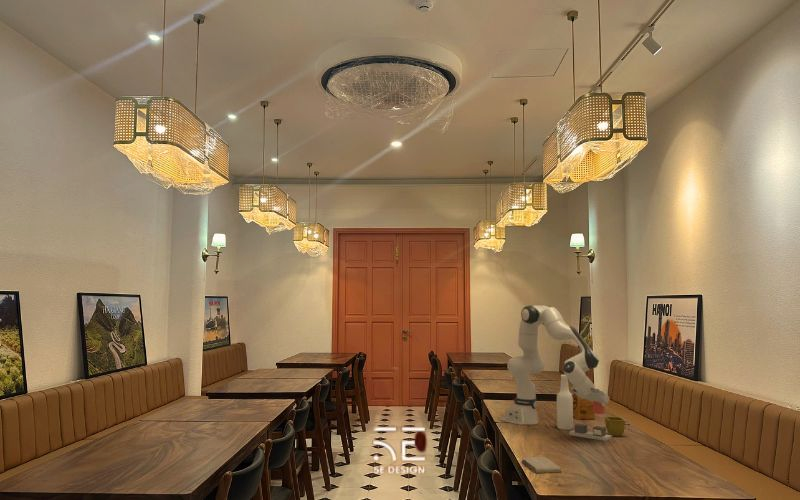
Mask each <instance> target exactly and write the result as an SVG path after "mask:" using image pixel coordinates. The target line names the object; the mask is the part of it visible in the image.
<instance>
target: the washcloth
mask: <svg viewBox="0 0 800 500" xmlns="http://www.w3.org/2000/svg"><path fill="white" fill-rule="evenodd" d="M521 462H522V464H523V465H524V466H526V468H528V469H529V468H530V469H529V470H531V471H532V470H533V471H534V472H533V471H532V472H533V473H534V474H545V473H544V472H557V473H562V468H561V467H560V466H559V465H557V464H556V463H555V462H553V461H552V460H550V459H549V458H548V457H546V456H537V457H535V456H526V457H525V456H523V457H522V459H521Z"/></svg>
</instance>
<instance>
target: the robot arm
mask: <svg viewBox="0 0 800 500" xmlns="http://www.w3.org/2000/svg"><path fill="white" fill-rule="evenodd" d="M520 313H521V314H520V315H521V320H520V323H519V328H518V329H519V330H518V343H517V345H518V347H519V348H520V349H521V350H522V352H523V355H521V356H520V355H519V356H518V355H517V356H513V357H511V358H509V360H508V362H507V366H506V367H507V370H508V372H509V373H510V374H511V375H512V376H513V378H514V381H515V384H516V397H514V398H513V399H512V402H514V403H513V404H511V405H510V406H508V407H507V408H506V409H505V411H504V416H502V417H501V418H500V421H501V422H507V423H510V424H515V425H520V426H522V425H537V424H539V423H540V421H539V418H538V413H537V407H538V406H537V405H538V404H537V403H538V402H537V396H536V395H537V394H536V393H537V392H536V391H537V389H536V384H535V383H534V382H533V381H532V380H531V377H530V375H536V374H539V373H542V372H543V371H544V370H545V361H544V359H543V358H542V356H541V355H540V354H539V349H538V337H539V336H538V335H539V334H538V333H539V327H540V325H544V327H545V330H546V332H547V333H548V335H549V336H550V338H551V339H554V340H558V341H564V340H574V341H575V342H576V344H577V346H578V347H579V348H580V350H581V352H580V353H577V354H576V355H574V356H572V357H569V358H568V359H566V360H565V361H564V362H563V366H562V370H563V373H564V375H566V377H567V378H568V382H570V383H571V384H572V386H571V388H570V389H571V391H572V392H573V394H574V393H575V394H576V395H577V396H578V397H579V398H582V399H586V400H589V401H590V402H592V403H593V401H595V402H599V403H600V405H601V406H602V407H604V408H605V406H606V404H608V403H609V401H610V396H609V395H608V394H607V393H606V392H605V391H604V390H602V389H600V388H596V387H595V384H594V383H593V381H592V380H591V378H589V376H587V375H586V372H587V371H590V370H593V369H595V368H597V367H598V366H599V361H600V360H599V357H598V355H597V353H595V352H594V350H592V348H591V347H590V345H589V344H588V343H587V342H586V340H585V339H584V338H583V336H582V335H581V334H580V333H579V331H578V330H577V329H576V328H575V327H574V326H573V325H571V326H570V325H568V324H567V322H565V320H564V318H563V316H562V314H561V313H560V311H559V310H558V309H557V308H556V307H554V306H552V305H543V304H542V305H541V304H536V305H526V306H524V307H522V310H521V312H520Z"/></svg>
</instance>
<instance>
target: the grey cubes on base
mask: <svg viewBox="0 0 800 500" xmlns="http://www.w3.org/2000/svg"><path fill="white" fill-rule="evenodd" d="M606 431H607V428H606V426H605V427H604V426H600V425H599V426H598V425H596V426H593V427H592V432H591V431H588V424H585V423H579V422H578V423H576V424H574V429H572V430H569V431H568V436H573V437H580V438H586V439H592V440H598V441H604V442H607V441H609V440H611V439H613V438H612V437H613V436H612V435H610V434H607V432H606Z"/></svg>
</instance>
